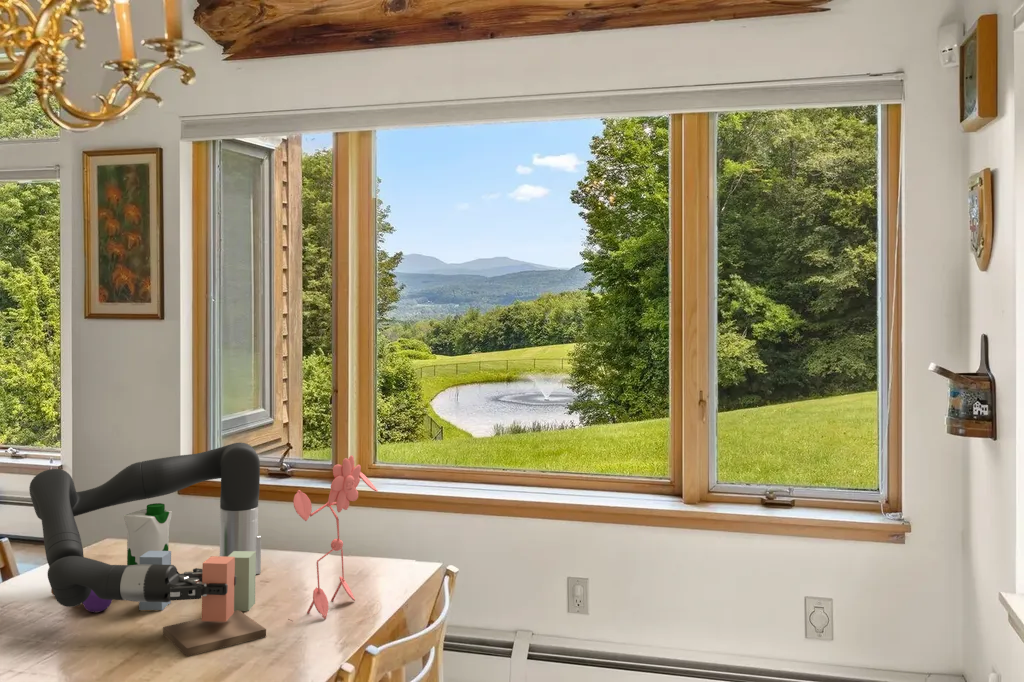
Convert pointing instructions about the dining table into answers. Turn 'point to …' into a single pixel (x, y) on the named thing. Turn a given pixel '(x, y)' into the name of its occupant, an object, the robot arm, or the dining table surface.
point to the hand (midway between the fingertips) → (231, 584)
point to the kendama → (95, 603)
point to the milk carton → (147, 531)
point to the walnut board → (213, 633)
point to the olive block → (244, 579)
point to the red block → (218, 572)
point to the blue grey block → (157, 559)
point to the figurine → (342, 493)
